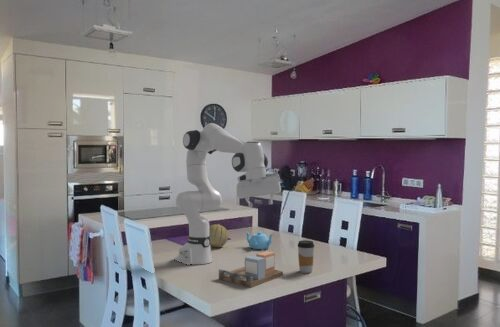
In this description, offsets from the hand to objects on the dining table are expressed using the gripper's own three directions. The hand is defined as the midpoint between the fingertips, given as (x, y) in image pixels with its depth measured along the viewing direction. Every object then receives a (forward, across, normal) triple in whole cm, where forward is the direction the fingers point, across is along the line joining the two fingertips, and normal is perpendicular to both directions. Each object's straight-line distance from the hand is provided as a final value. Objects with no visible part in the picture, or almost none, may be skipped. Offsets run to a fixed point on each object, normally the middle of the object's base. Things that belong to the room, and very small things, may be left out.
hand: (260, 205), depth 191 cm
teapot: (+22, +22, -74) cm, 81 cm away
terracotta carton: (+31, +6, -17) cm, 36 cm away
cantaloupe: (+18, +49, -72) cm, 88 cm away
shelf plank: (+32, +12, -14) cm, 37 cm away
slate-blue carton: (+32, +9, -7) cm, 34 cm away
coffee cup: (+34, -12, -30) cm, 47 cm away
